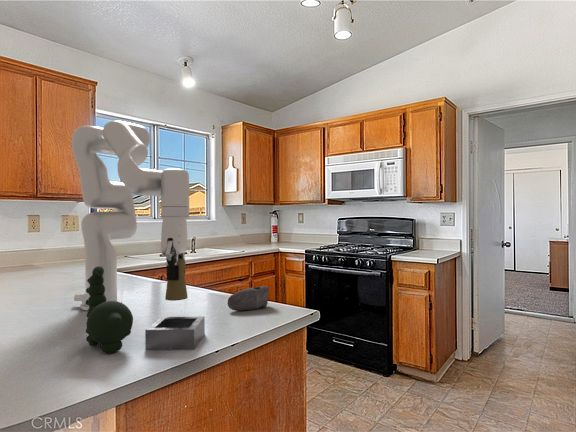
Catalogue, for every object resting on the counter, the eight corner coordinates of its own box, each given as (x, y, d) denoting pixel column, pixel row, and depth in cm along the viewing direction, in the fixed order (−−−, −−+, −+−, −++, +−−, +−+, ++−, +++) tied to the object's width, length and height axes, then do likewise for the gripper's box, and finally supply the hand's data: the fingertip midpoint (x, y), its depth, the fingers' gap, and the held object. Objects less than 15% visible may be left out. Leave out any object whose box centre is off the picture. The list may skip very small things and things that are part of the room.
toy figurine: (75, 343, 96) (94, 364, 76) (74, 267, 97) (91, 269, 77) (115, 335, 102) (142, 354, 82) (113, 264, 103) (139, 265, 83)
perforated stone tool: (230, 314, 117) (230, 291, 117) (224, 310, 122) (224, 288, 122) (274, 308, 124) (274, 287, 124) (267, 305, 129) (267, 284, 129)
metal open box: (145, 349, 86) (145, 329, 86) (161, 334, 97) (161, 316, 97) (194, 349, 86) (194, 329, 86) (204, 334, 97) (204, 316, 97)
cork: (190, 296, 109) (190, 257, 109) (182, 300, 103) (182, 260, 103) (170, 295, 110) (170, 257, 110) (161, 300, 104) (161, 260, 104)
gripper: (171, 213, 115) (171, 273, 115) (151, 213, 98) (151, 284, 98) (196, 213, 115) (196, 273, 115) (180, 213, 98) (181, 283, 98)
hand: (176, 277), depth 107 cm, fingers closed on cork, 5 cm apart
